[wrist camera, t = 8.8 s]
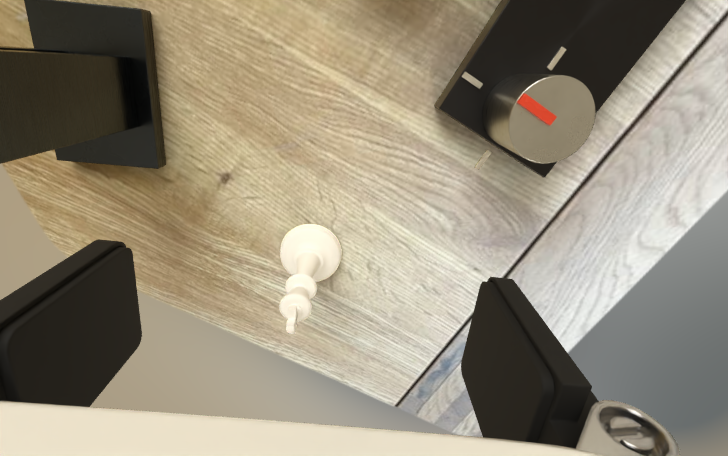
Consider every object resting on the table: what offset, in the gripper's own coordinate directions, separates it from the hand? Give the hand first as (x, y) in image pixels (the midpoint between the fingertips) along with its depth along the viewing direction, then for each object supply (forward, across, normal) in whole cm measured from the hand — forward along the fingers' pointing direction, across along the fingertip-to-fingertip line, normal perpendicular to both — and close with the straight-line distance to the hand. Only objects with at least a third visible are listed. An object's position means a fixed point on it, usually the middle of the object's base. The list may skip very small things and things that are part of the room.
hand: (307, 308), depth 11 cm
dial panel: (+19, -14, -10) cm, 26 cm away
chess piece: (+20, +2, +8) cm, 21 cm away
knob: (+17, -11, -5) cm, 21 cm away
